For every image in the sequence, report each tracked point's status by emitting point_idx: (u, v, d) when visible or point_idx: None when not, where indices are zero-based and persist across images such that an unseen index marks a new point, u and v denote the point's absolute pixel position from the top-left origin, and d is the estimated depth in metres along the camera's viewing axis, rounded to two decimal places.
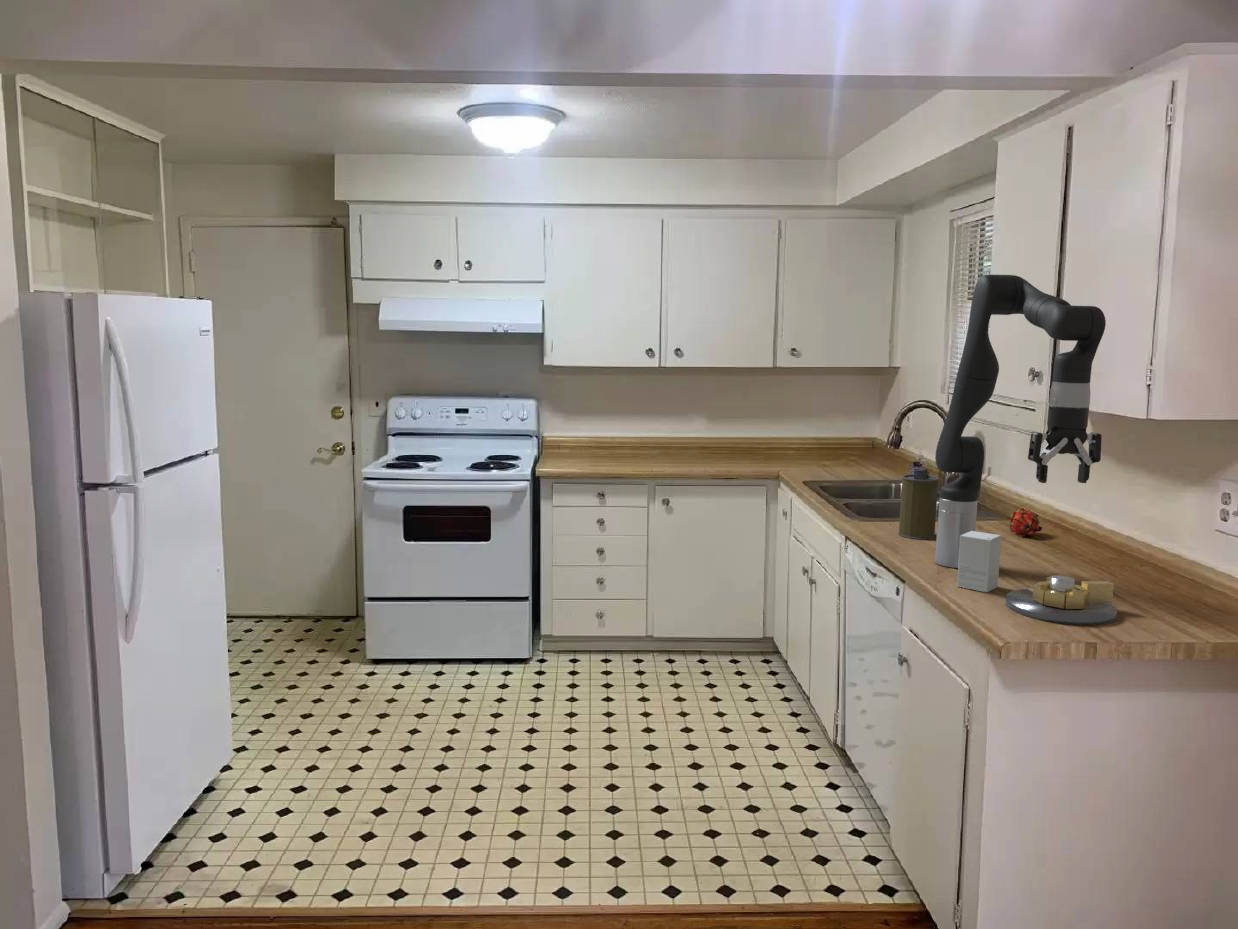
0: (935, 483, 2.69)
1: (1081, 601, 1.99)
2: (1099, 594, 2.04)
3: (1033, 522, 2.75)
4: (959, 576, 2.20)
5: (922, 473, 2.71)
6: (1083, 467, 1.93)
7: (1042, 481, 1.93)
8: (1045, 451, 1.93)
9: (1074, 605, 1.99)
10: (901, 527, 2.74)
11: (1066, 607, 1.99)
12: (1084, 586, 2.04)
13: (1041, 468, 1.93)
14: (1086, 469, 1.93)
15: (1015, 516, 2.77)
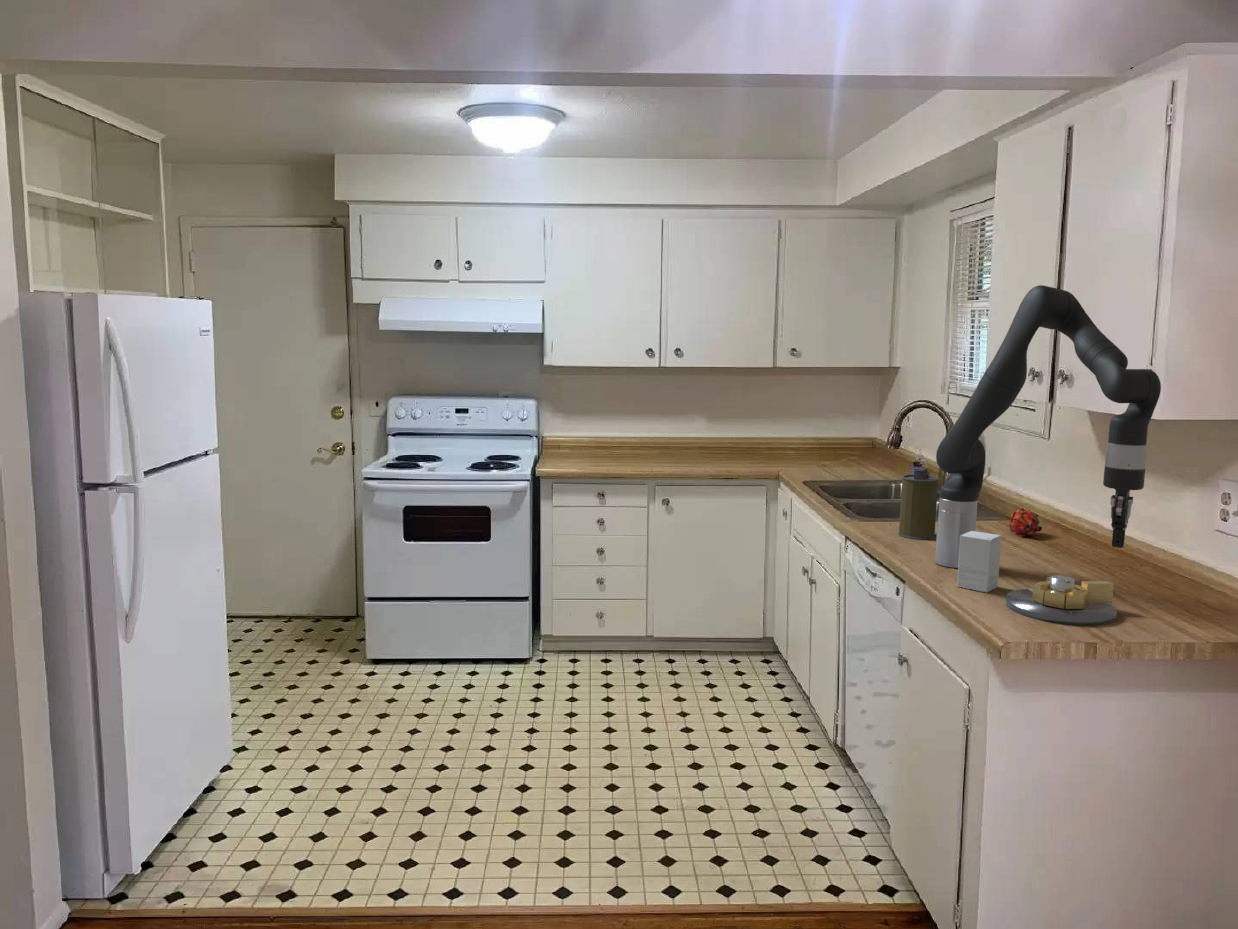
0: (935, 483, 2.69)
1: (1081, 601, 1.99)
2: (1099, 594, 2.04)
3: (1033, 522, 2.75)
4: (959, 576, 2.20)
5: (922, 473, 2.71)
6: None
7: None
8: None
9: (1074, 605, 1.99)
10: (901, 527, 2.74)
11: (1066, 607, 1.99)
12: (1084, 586, 2.04)
13: None
14: None
15: (1015, 516, 2.77)
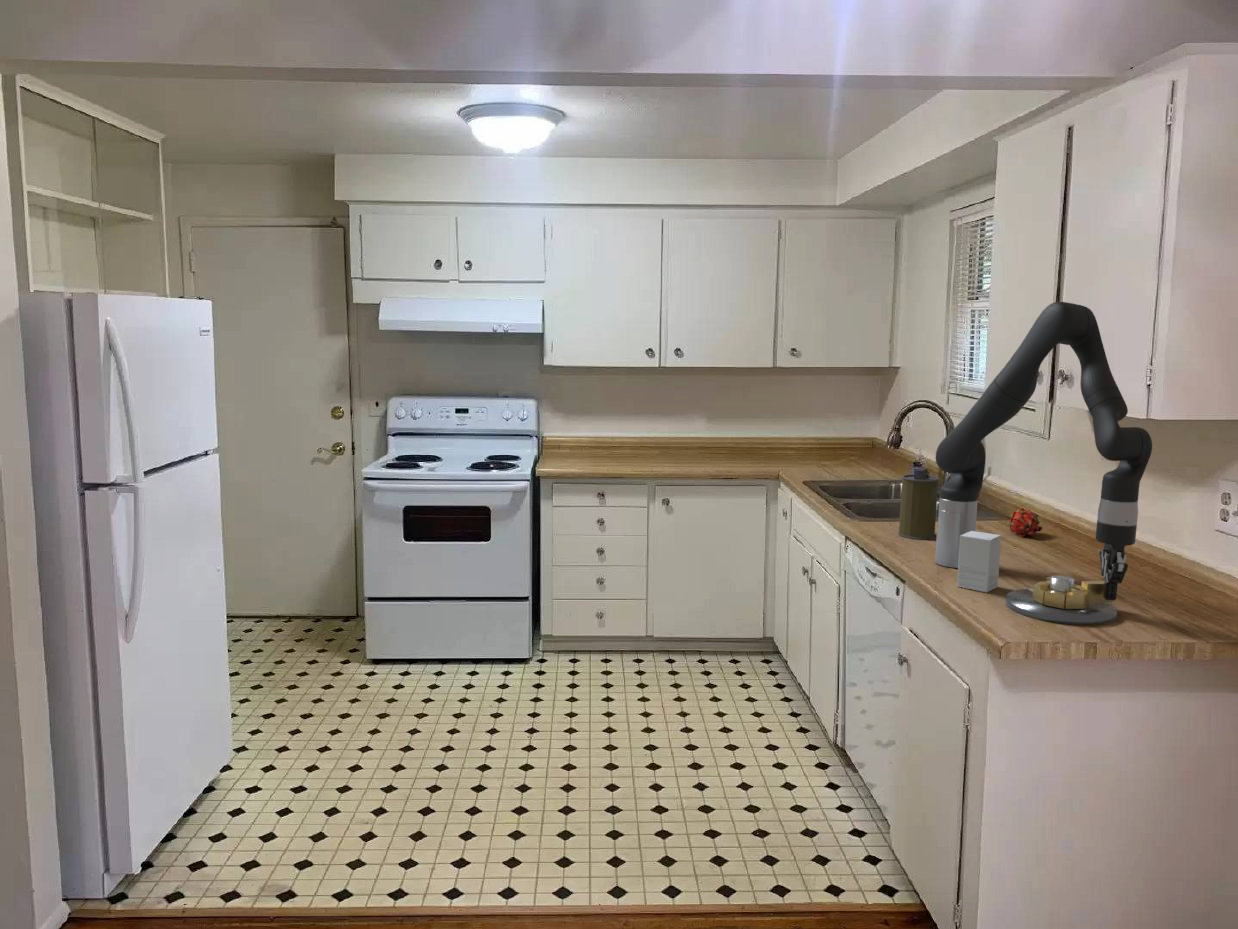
0: (935, 483, 2.69)
1: (1081, 601, 1.99)
2: (1099, 594, 2.04)
3: (1033, 522, 2.75)
4: (959, 576, 2.20)
5: (922, 473, 2.71)
6: None
7: None
8: None
9: (1074, 605, 1.99)
10: (901, 527, 2.74)
11: (1066, 607, 1.99)
12: (1084, 586, 2.04)
13: None
14: (1105, 586, 2.01)
15: (1015, 516, 2.77)
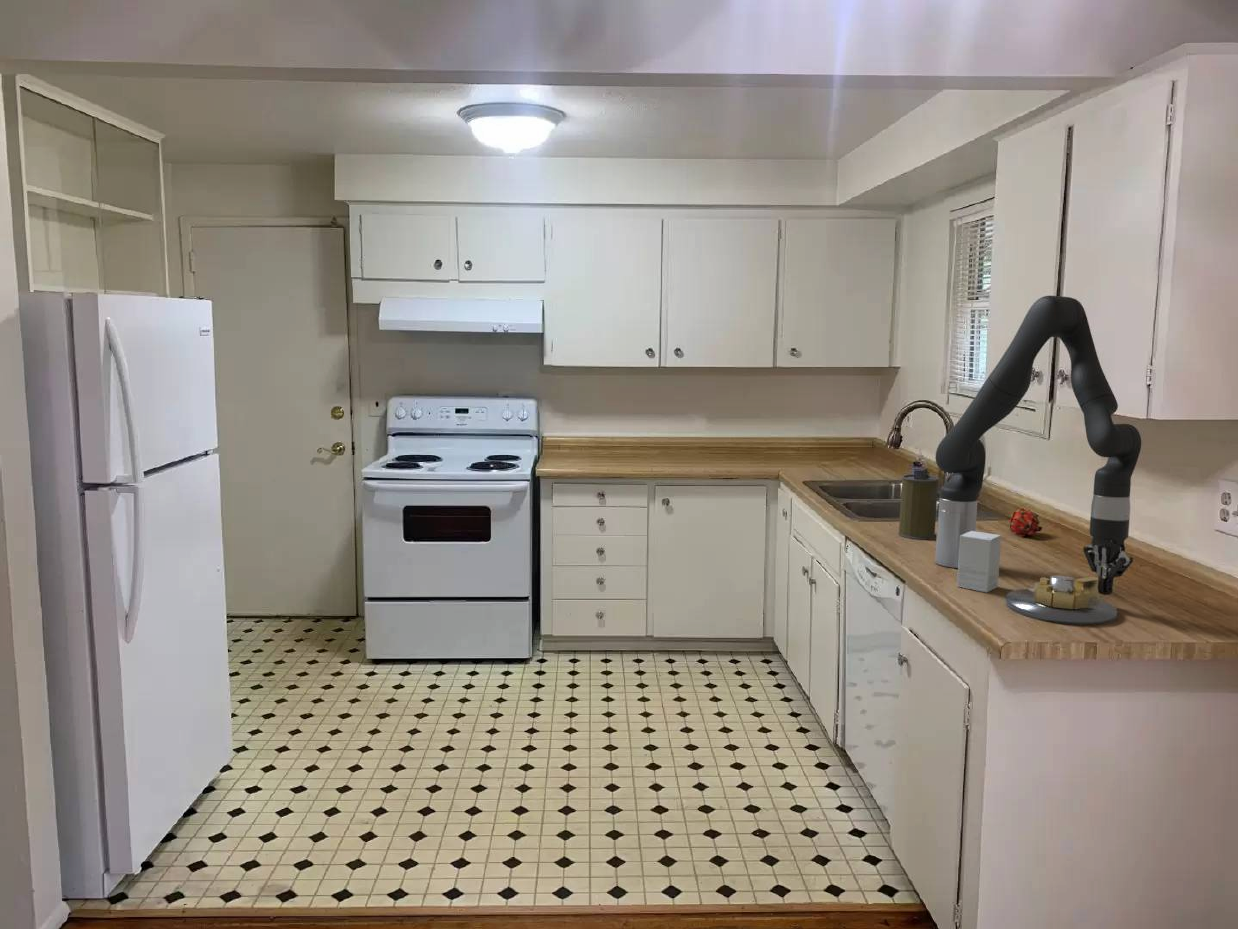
0: (935, 483, 2.69)
1: (1086, 600, 2.00)
2: (1091, 590, 2.07)
3: (1033, 522, 2.75)
4: (959, 576, 2.20)
5: (922, 473, 2.71)
6: None
7: None
8: None
9: (1081, 604, 2.00)
10: (901, 527, 2.74)
11: (1075, 607, 1.99)
12: (1078, 584, 2.06)
13: (1099, 579, 2.06)
14: (1102, 581, 2.04)
15: (1015, 516, 2.77)
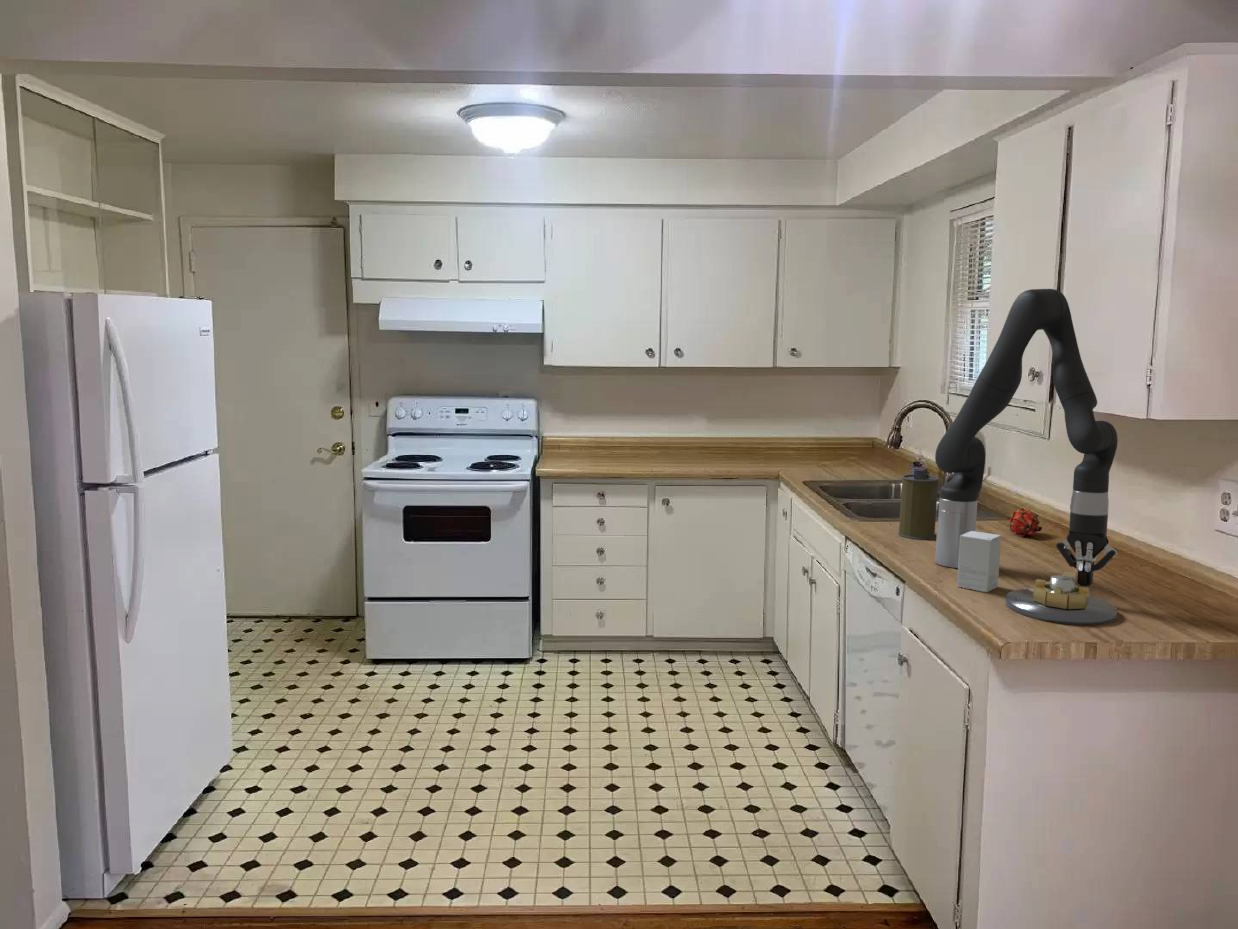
0: (935, 483, 2.69)
1: (1088, 597, 2.03)
2: None
3: (1033, 522, 2.75)
4: (959, 576, 2.20)
5: (922, 473, 2.71)
6: None
7: None
8: None
9: (1087, 602, 2.01)
10: (901, 527, 2.74)
11: (1086, 606, 2.00)
12: None
13: (1078, 573, 2.10)
14: (1085, 575, 2.09)
15: (1015, 516, 2.77)
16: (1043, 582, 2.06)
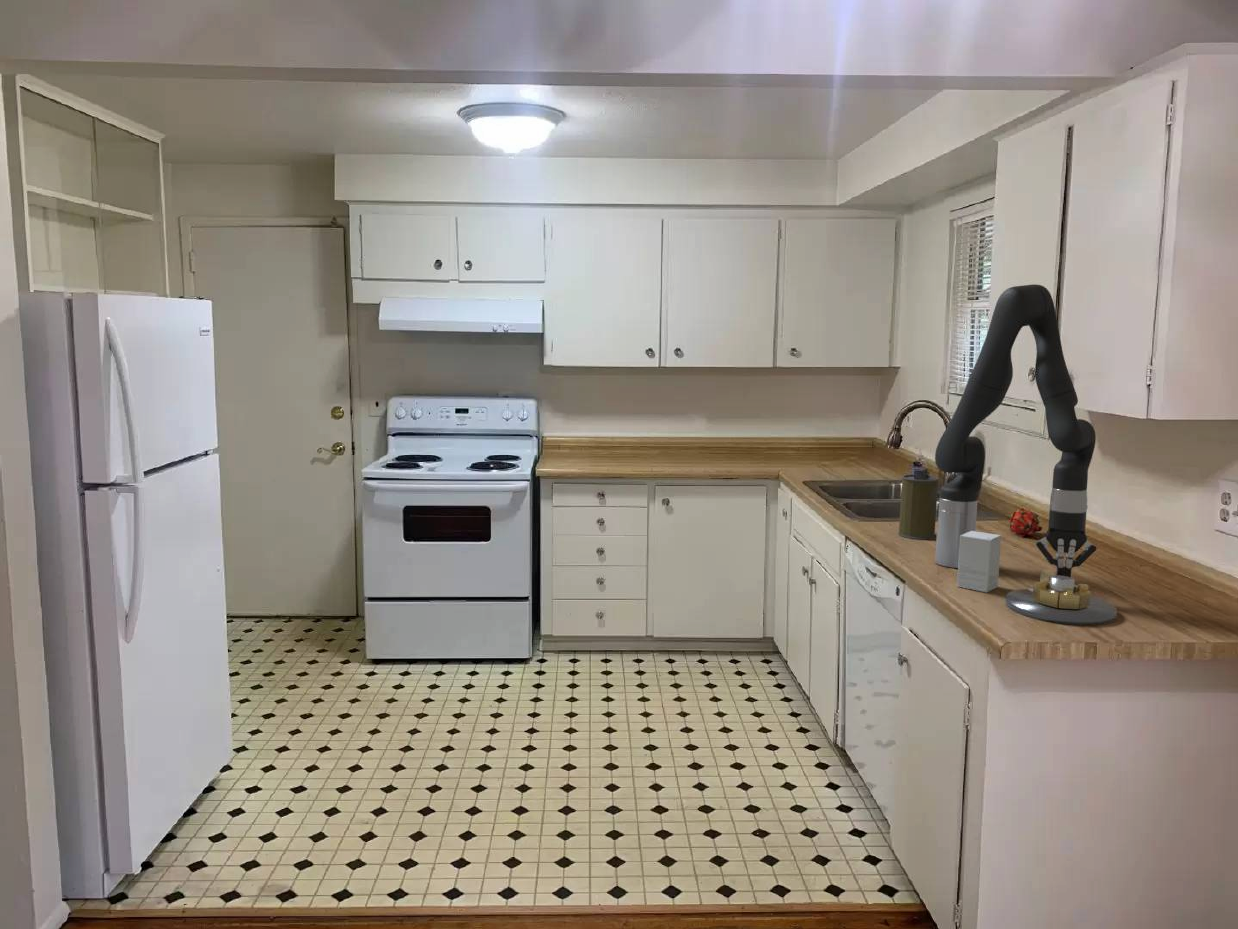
0: (935, 483, 2.69)
1: None
2: None
3: (1033, 522, 2.75)
4: (959, 576, 2.20)
5: (922, 473, 2.71)
6: (1064, 569, 2.12)
7: None
8: None
9: None
10: (901, 527, 2.74)
11: None
12: None
13: (1058, 570, 2.12)
14: (1066, 572, 2.11)
15: (1015, 516, 2.77)
16: (1045, 584, 2.04)
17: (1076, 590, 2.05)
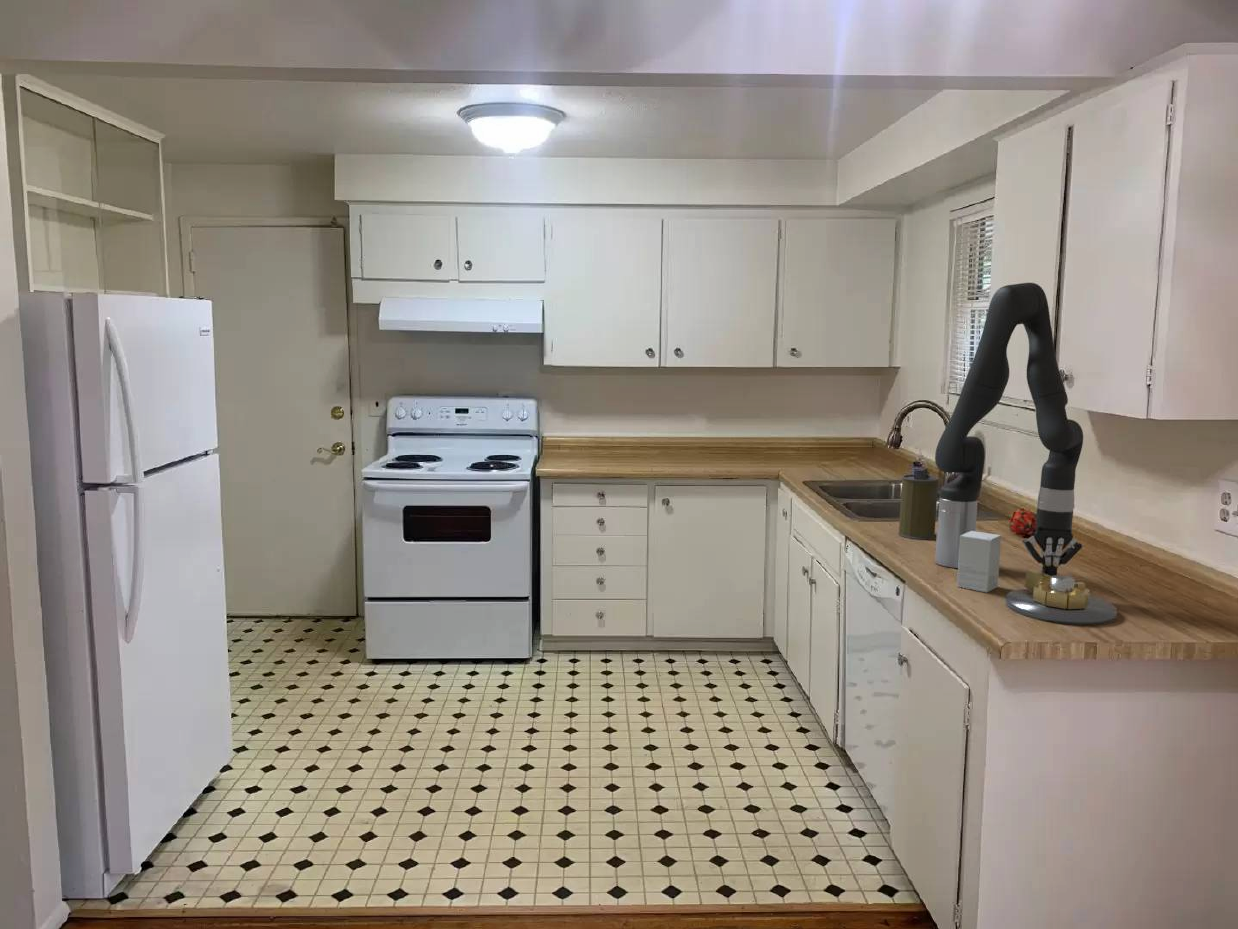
0: (935, 483, 2.69)
1: None
2: None
3: (1033, 522, 2.75)
4: (959, 576, 2.20)
5: (922, 473, 2.71)
6: (1051, 568, 2.14)
7: None
8: (1043, 553, 2.15)
9: None
10: (901, 527, 2.74)
11: None
12: (1046, 580, 2.09)
13: (1045, 569, 2.15)
14: (1053, 570, 2.14)
15: (1015, 516, 2.77)
16: (1048, 586, 2.03)
17: None
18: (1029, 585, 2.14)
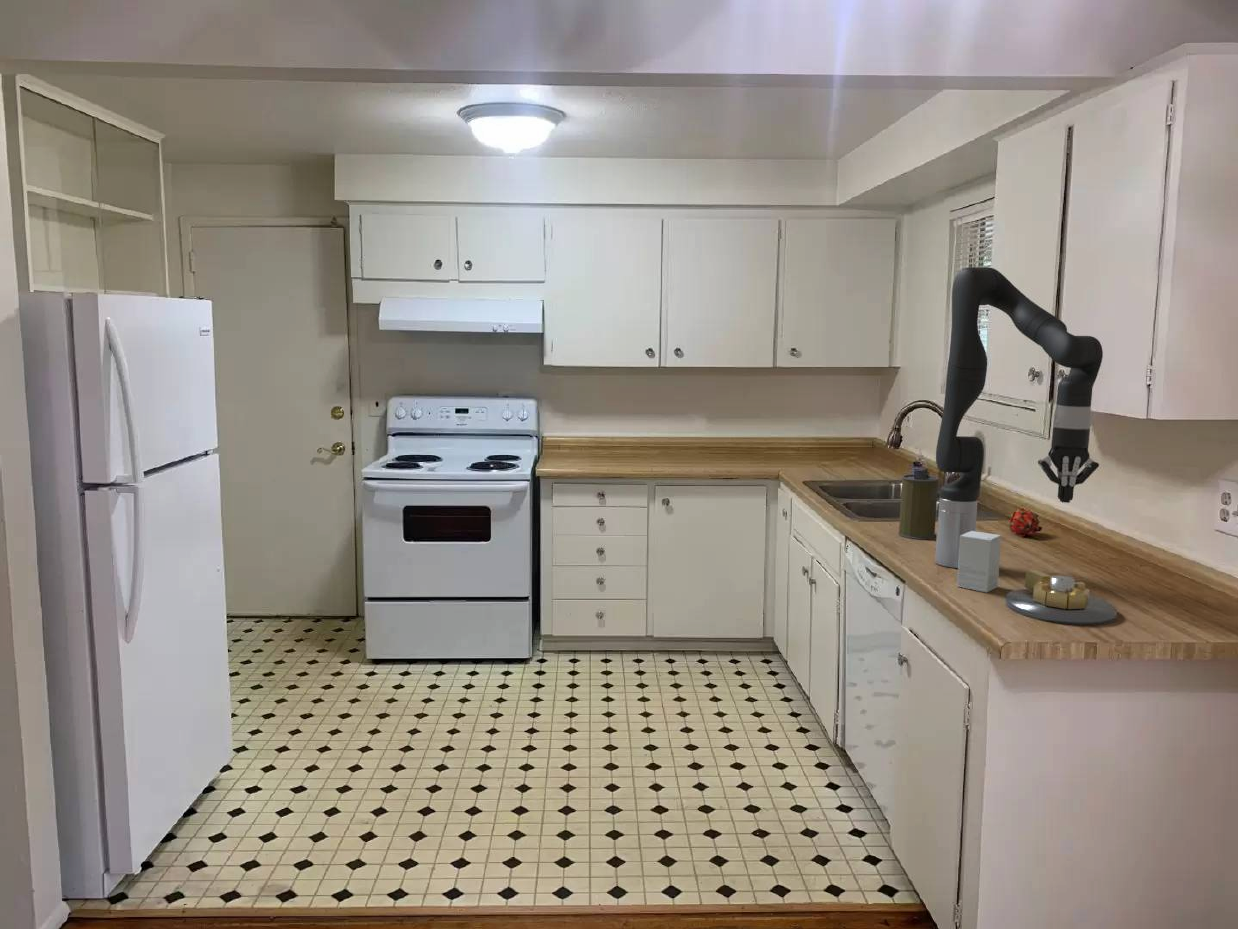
0: (935, 483, 2.69)
1: None
2: None
3: (1033, 522, 2.75)
4: (959, 576, 2.20)
5: (922, 473, 2.71)
6: None
7: (1062, 501, 2.11)
8: (1059, 473, 2.11)
9: None
10: (901, 527, 2.74)
11: None
12: (1046, 580, 2.09)
13: (1061, 489, 2.11)
14: (1069, 490, 2.10)
15: (1015, 516, 2.77)
16: (1048, 586, 2.03)
17: None
18: (1029, 585, 2.14)
